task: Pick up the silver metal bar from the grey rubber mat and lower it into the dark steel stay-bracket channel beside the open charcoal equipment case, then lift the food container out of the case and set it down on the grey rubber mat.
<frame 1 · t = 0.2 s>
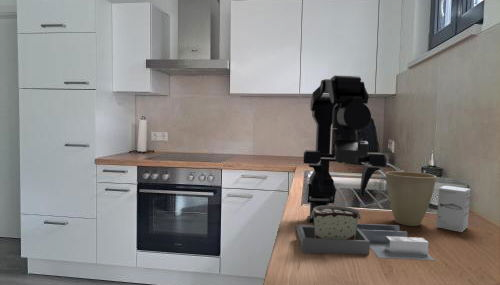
hand: (341, 194, 83), 14 cm above the countertop, tool pointing down, fingers open, 9 cm apart
food container: (331, 247, 89), resting in equipment case
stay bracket: (379, 240, 94), on the countertop
equipment case: (331, 246, 88), on the countertop
grey mat: (398, 252, 86), on the countertop
plant pot: (407, 223, 113), on the countertop
supplement box: (452, 228, 108), on the countertop
silver metal bar: (406, 252, 85), resting on grey mat
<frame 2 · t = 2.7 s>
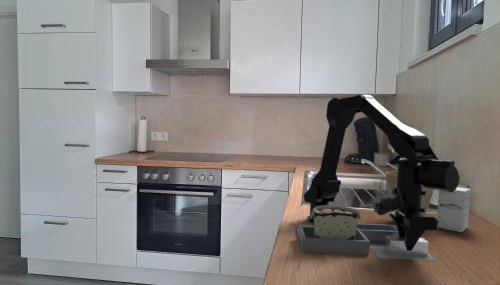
hand: (406, 247, 85), 1 cm above the countertop, tool pointing down, fingers closed on silver metal bar, 3 cm apart
silver metal bar: (406, 252, 85), resting on grey mat, touching gripper
everything else where it was.
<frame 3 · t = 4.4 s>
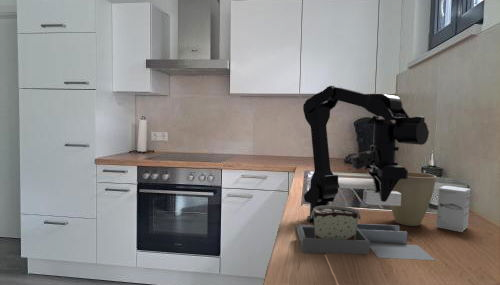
hand: (381, 199, 94), 11 cm above the countertop, tool pointing down, fingers closed on silver metal bar, 3 cm apart
silver metal bar: (381, 203, 94), point 10 cm above the countertop, touching gripper
everything else where it was.
when the fingers open (4 cm above the countertop, at t = 6.0 s): silver metal bar drops 2 cm, resting on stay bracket.
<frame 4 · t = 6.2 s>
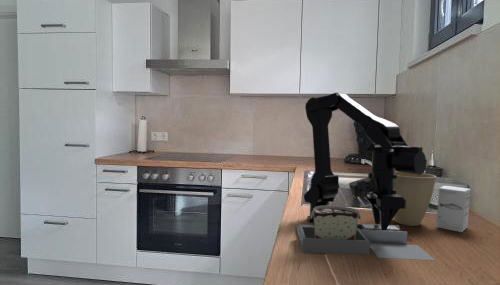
hand: (380, 226, 94), 4 cm above the countertop, tool pointing down, fingers open, 5 cm apart
silver metal bar: (379, 238, 94), point 1 cm above the countertop, touching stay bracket
everything else where it was.
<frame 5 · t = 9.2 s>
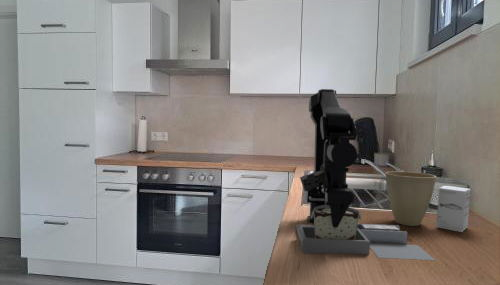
hand: (332, 223, 88), 6 cm above the countertop, tool pointing down, fingers closed on food container, 6 cm apart
food container: (331, 246, 89), resting in equipment case, touching gripper
everything else where it was.
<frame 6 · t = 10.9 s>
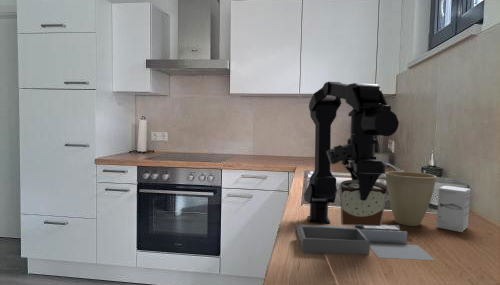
hand: (360, 197, 86), 13 cm above the countertop, tool pointing down, fingers closed on food container, 6 cm apart
food container: (357, 221, 88), point 7 cm above the countertop, touching gripper
everything else where it was.
when the fingers open (8 cm above the countertop, at t = 12.9 s): food container stays where it is, resting on grey mat.
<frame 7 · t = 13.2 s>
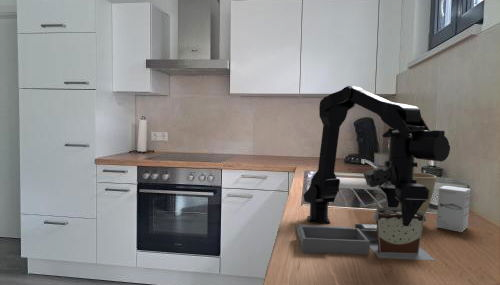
hand: (398, 220, 85), 8 cm above the countertop, tool pointing down, fingers open, 9 cm apart
food container: (393, 250, 87), resting on grey mat
everything else where it was.
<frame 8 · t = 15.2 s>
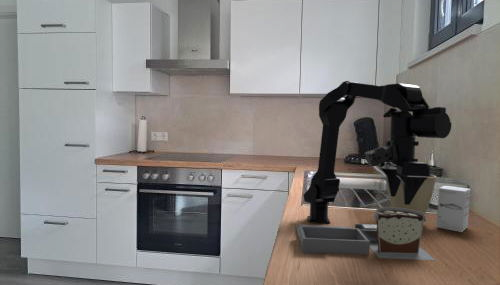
hand: (399, 200, 85), 13 cm above the countertop, tool pointing down, fingers open, 9 cm apart
nothing on the countertop moved.
at the end: silver metal bar inside the target area on the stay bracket (0.0 cm from its centre), point 0.6 cm above the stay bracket's base; food container inside the target area (1.4 cm from its centre), resting on grey mat; food container tilted 0° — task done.
